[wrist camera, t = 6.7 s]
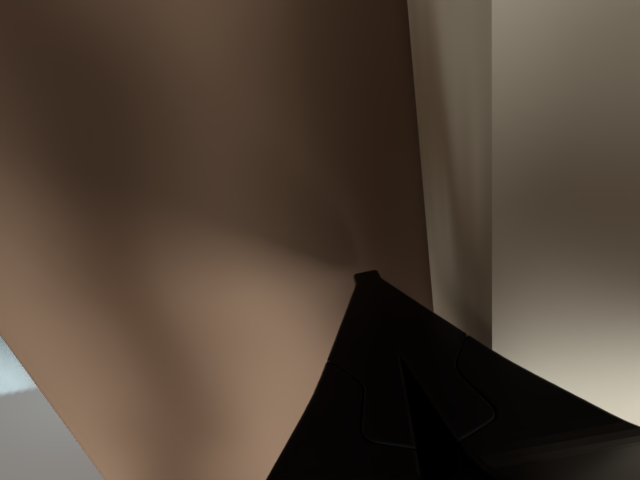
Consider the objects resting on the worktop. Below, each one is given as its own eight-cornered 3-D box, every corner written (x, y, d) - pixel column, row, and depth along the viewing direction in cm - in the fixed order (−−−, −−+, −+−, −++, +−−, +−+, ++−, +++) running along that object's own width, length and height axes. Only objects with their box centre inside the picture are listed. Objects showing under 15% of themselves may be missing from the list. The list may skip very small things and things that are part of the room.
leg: (381, -277, 5) (551, -1033, 2) (594, -335, 5) (1332, -1344, 1) (438, 380, 11) (506, 546, 7) (541, 363, 11) (664, 523, 7)
